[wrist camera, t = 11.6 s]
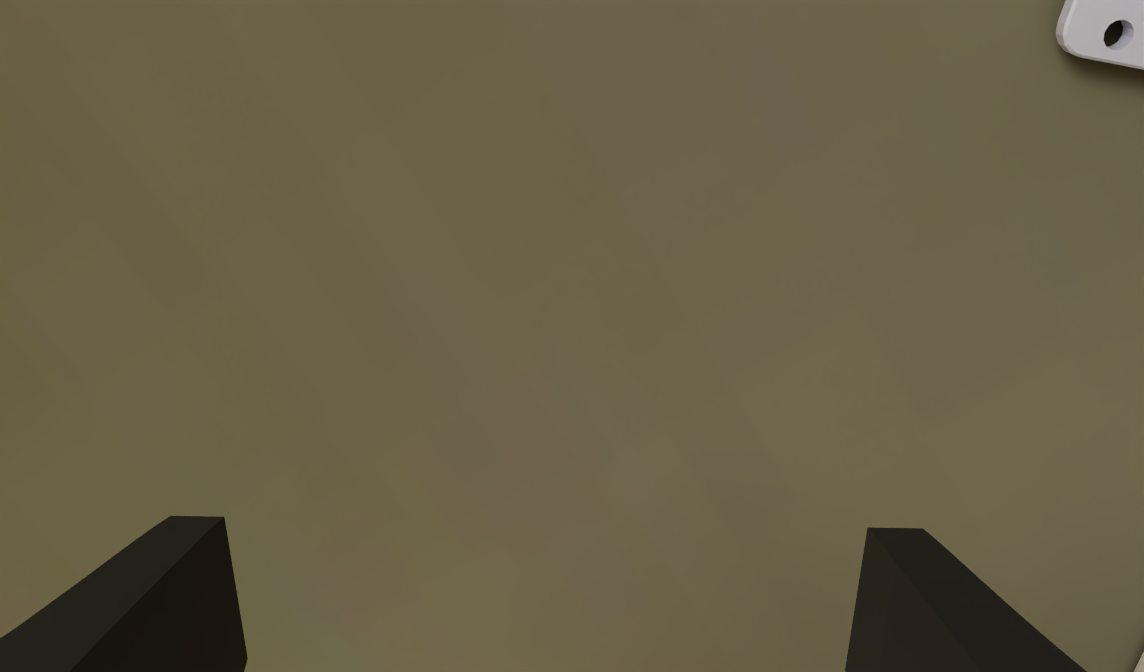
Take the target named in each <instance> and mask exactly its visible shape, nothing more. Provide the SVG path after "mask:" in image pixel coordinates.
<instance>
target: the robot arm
mask: <svg viewBox="0 0 1144 672" xmlns="http://www.w3.org/2000/svg"><path fill="white" fill-rule="evenodd" d="M1117 20H1121V23H1122V25H1123V33H1122V36H1121V37H1120V39H1119V40H1118V42H1116V43H1115V44H1113V45H1111V46H1107V47H1106V45H1105V42H1104V33H1105V31H1106V29H1107V28H1108V26H1109V25H1110V24H1112V23H1114V22H1115V21H1117ZM1056 37H1057V41H1058V44H1059V45H1060V46H1061V48H1062V49H1063V50H1064V51H1066V52H1068V53H1070V54H1073V55H1075V56H1078V57H1081V58H1086V59H1091V60H1096V61H1101V62H1107V63H1112V64H1117V65H1122V66H1127V67H1132V68H1138V69H1143V70H1144V0H1066V1H1065V4H1064V6H1063V9H1062V12H1061V15H1060V17H1059V20H1058V23H1057V29H1056ZM247 659H248V658H247V652H246V646H245V640H244V634H243V628H242V622H241V616H240V610H239V604H238V597H237V591H236V585H235V579H234V573H233V567H232V561H231V555H230V549H229V543H228V537H227V531H226V525H225V519H224V517H202V516H170V517H168V518H167V519H165V520H164V521H162V522H161V523H159V524H158V525H156V526H155V527H153V528H152V529H150V530H149V531H147V532H146V533H145V534H143V535H142V536H141V537H139V538H138V539H136V540H135V541H134V542H132V543H131V544H130V545H128V546H127V547H125V548H124V549H123V550H121V551H120V552H119V553H117V554H116V555H115V556H113V557H112V558H111V559H109V560H108V561H107V562H105V563H104V564H103V565H101V566H100V567H99V568H97V569H96V570H95V571H93V572H92V573H91V574H89V575H88V576H87V577H85V578H84V579H82V580H81V581H80V582H78V583H77V584H76V585H74V586H73V587H72V588H70V589H69V590H67V591H66V592H65V593H63V594H62V595H61V596H59V597H58V598H56V599H55V600H54V601H52V602H51V603H50V604H48V605H47V606H45V607H44V608H43V609H41V610H40V611H39V612H37V613H36V614H35V615H33V616H32V617H30V618H29V619H28V620H26V621H25V622H24V623H22V624H21V625H19V626H18V627H17V628H15V629H14V630H12V631H11V632H9V633H8V634H6V635H5V636H3V637H2V638H0V672H244V669H245V666H246V663H247ZM845 671H846V672H1087V671H1085V670H1084V669H1083V668H1082V667H1080V666H1079V665H1078V664H1077V663H1076V662H1074V661H1073V660H1072V659H1071V658H1069V657H1068V656H1067V655H1066V654H1065V653H1064V652H1062V651H1061V650H1060V649H1059V648H1058V647H1056V646H1055V645H1054V644H1053V643H1052V642H1050V641H1049V640H1048V639H1047V638H1046V637H1045V636H1044V635H1042V634H1041V633H1040V632H1039V631H1038V630H1037V629H1035V628H1034V627H1033V626H1032V625H1031V624H1030V623H1028V622H1027V621H1026V620H1025V619H1024V618H1023V617H1022V616H1021V615H1019V614H1018V613H1017V612H1016V611H1015V610H1014V609H1013V608H1011V607H1010V606H1009V605H1008V604H1007V603H1006V602H1005V601H1004V600H1002V599H1001V598H1000V597H999V596H998V595H997V594H996V593H995V592H994V591H993V590H991V589H990V588H989V587H988V586H987V585H986V584H985V583H984V582H983V581H981V580H980V579H979V578H978V577H977V576H976V575H975V574H974V573H973V572H971V571H970V570H969V569H968V568H967V567H966V566H965V565H964V564H963V563H962V562H960V561H959V560H958V559H957V558H956V557H955V556H954V555H953V554H952V553H950V552H949V551H948V550H947V549H946V548H945V547H944V546H943V545H942V544H940V543H939V542H938V541H937V540H936V539H935V538H933V537H932V536H931V535H930V534H929V533H928V532H926V531H925V530H924V529H918V528H868V529H867V535H866V541H865V548H864V554H863V560H862V567H861V573H860V579H859V586H858V592H857V598H856V605H855V611H854V617H853V624H852V630H851V636H850V643H849V649H848V655H847V662H846V668H845Z"/></svg>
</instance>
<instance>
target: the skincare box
mask: <svg viewBox="0 0 1144 672" xmlns="http://www.w3.org/2000/svg"><path fill="white" fill-rule="evenodd" d="M1134 672H1144V652H1143V654H1142V656H1141V658H1140V660H1139V662H1138V664H1137V666H1136V668H1135V670H1134Z"/></svg>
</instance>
